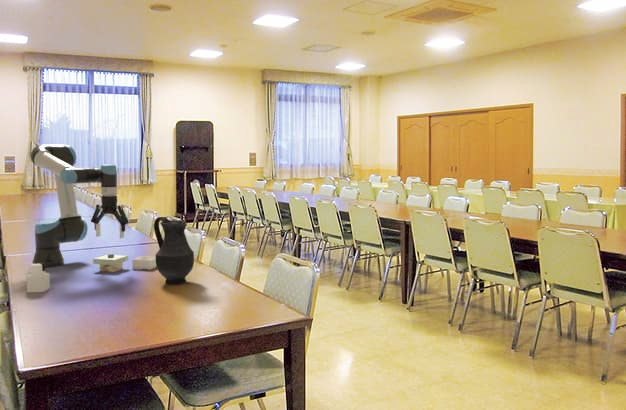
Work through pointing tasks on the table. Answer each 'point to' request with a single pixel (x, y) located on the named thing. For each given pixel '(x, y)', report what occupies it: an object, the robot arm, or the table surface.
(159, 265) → the pitcher
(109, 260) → the lid
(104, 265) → the stand
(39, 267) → the medicine bottle
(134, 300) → the table surface
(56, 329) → the table surface
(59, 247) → the robot arm
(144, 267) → the dish
